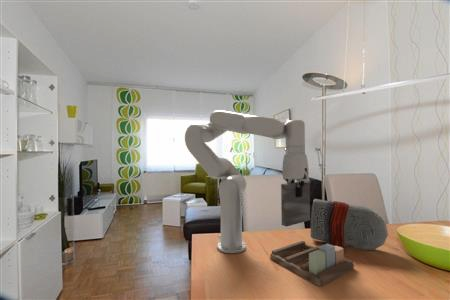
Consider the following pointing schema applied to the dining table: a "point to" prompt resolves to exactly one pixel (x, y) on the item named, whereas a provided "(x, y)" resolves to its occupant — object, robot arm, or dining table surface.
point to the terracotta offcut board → (339, 255)
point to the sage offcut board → (317, 262)
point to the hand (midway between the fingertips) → (295, 195)
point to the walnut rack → (304, 269)
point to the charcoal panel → (295, 204)
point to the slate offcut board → (328, 254)
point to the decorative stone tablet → (347, 225)
